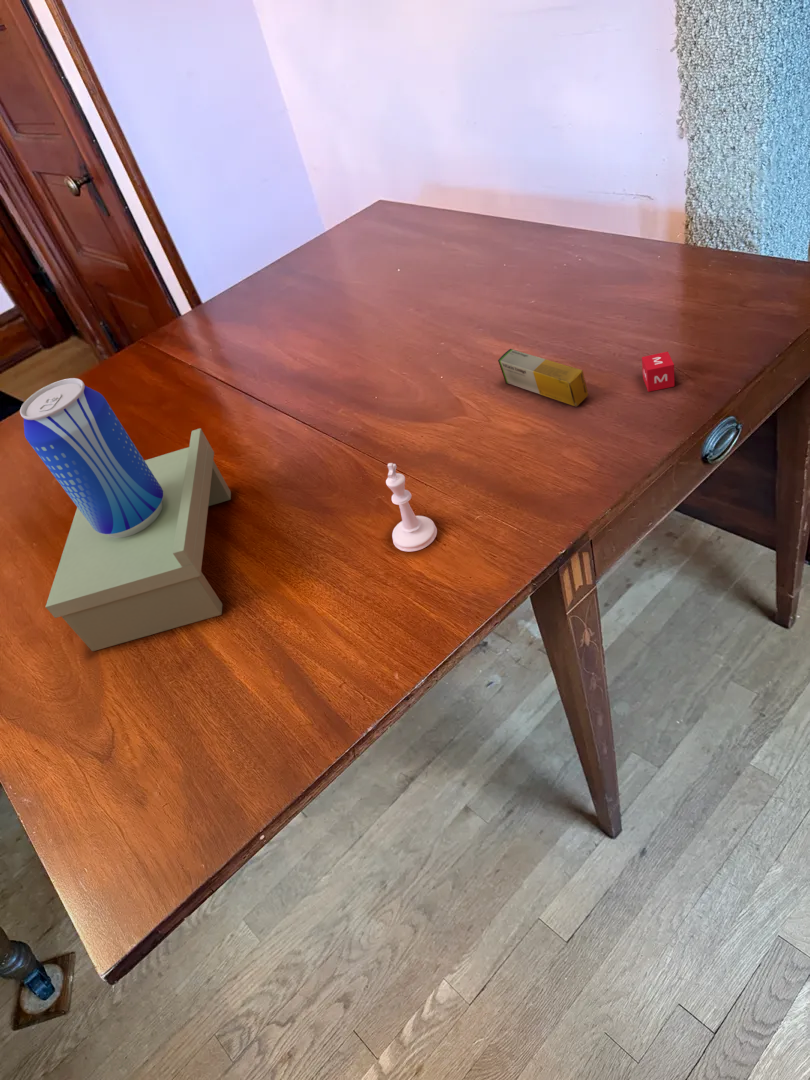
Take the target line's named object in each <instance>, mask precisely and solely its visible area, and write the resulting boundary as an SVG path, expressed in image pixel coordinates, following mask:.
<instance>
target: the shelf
mask: <svg viewBox="0 0 810 1080" xmlns="http://www.w3.org/2000/svg"><path fill="white" fill-rule="evenodd" d="M214 457H215V451H214V450H213V448H212V446H211V444H210V442H209V440H208V439H207V437H206V435H205V433H204V432H203V429H202V428H200V427H199V428H197V429H196V428H195V429H194V430H193V429H192V430H191V434H190V439H189V446H188V447H184V448H180V449H177V450H175V451H171V452H168V453H165V454H161V455H158V456H155V457H152V458H148V459H144V461H145V462H146V464H147V466H148V467H149V469H150V470H151V472H152V473H153V475H154V477H155V478H156V480H157V481H158V483H159V484H160V486H161V488H162V490H163V500H162V504H163V505H162V510H161V512H160V514H159V516H158V517H157V518H156V520H155V521H154V522H153V523H152V524H150V525H149V526H148V527H146V528H145V529H143V530H142V531H140V532H138V533H136V534H134V535H131V536H127V537H122V538H114V537H110V536H108V535H105V534H101V533H98V532H97V531H95V530H94V529H93V527H92V526H91V525H90V523H89V522H88V521H87V519H86V518H85V517H84V515H83V514H82V513H81V511H80V510H79V509H78V507H77V506H76V510H75V512H74V516H73V520H72V523H71V525H70V529H69V532H68V534H67V537H66V541H65V544H64V547H63V551H62V554H61V557H60V560H59V564H58V567H57V569H56V573H55V576H54V579H53V582H52V585H51V588H50V591H49V594H48V598H47V601H46V604H45V609H47V611H48V612H49V613H50V614H51V615H52V616H53V618H54V619H57V618H60V617H61V618H62V619H63V620H64V621H65V623H66V624H67V625H68V626H69V627H70V629H72V630H73V632H74V633H75V634H76V635H77V636H78V637H79V639H81V641H82V642H83V643H84V644H85V645H86V646H87V647H88V648H89V649H90V651H91V652H95V651H99V650H103V649H106V648H109V647H113V646H116V645H120V644H124V643H128V642H131V641H135V640H138V639H141V638H145V637H148V636H151V635H155V634H159V633H162V632H166V631H170V630H172V629H173V630H174V629H176V628H179V627H183V626H187V625H190V624H193V623H197V622H201V621H204V620H208V619H212V618H215V617H219V616H222V614H223V603H222V601H221V600H220V598H219V596H218V595H217V593H216V592H215V590H214V589H213V587H212V586H211V584H210V583H209V581H208V580H207V578H206V576H205V575H204V573H203V572H202V566H203V556H204V549H205V548H204V547H205V541H206V540H205V539H206V530H207V521H208V513H209V507H212V506H215V505H218V504H221V503H224V502H228V501H231V499H232V498H231V497H232V492H231V489H230V488H229V486H228V484H227V482H226V481H225V478H224V477H223V475H222V473H221V471H220V469H219V468H218V466H217V464H216V462H215V460H214V459H215V458H214Z"/></svg>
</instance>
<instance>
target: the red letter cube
mask: <svg viewBox="0 0 810 1080" xmlns="http://www.w3.org/2000/svg"><path fill="white" fill-rule="evenodd" d="M641 367H642V379H643V383H644V384H645V387H646V389H647V392H654V391H660V390H663V389H668V388H673V387H674V388H675V363H674V361H673V359H672V357H671V355H670V353H669V351H663V352H659V353H655V354H649V355H645V356H641Z"/></svg>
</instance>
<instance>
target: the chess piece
mask: <svg viewBox="0 0 810 1080" xmlns="http://www.w3.org/2000/svg"><path fill="white" fill-rule="evenodd" d="M397 467H398V466H397V464H396V463H393V462H388V463H387V469H388V473H387V478H386V480H385V484H386V486H387V487H388V489H390V491H391V492H392V495H391V502H392V504H394V505H397V506H398V507H399V511H400V517H401V521H400V522H398V523H397V524H396V525H395V526H394V528H393V530H392V533H391V538H392V543H393V546H394V547H395V548H396V549H398V550H400V551H402V552H406V553H407V552H411V553H412V552H417V551H421V550H423V549H425V548H426V547H428V546H430V545H431V544H432V543H433V542H434V541H435V539H436V537H437V535H438V529H437V528H438V527H437V526H436V524H435V522H434V521H433V520H432V519H431V518H430V517H427V516H424V515H416V514H415V513H414V510H413V509H412V507H411V505H410V503H409V502H410V501H411V499H412V493H411V492H410V490H408V489H406V476H405V475H404V474H402V473H401V472H400V473H399V472H396V471H397Z"/></svg>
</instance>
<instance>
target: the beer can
mask: <svg viewBox="0 0 810 1080" xmlns="http://www.w3.org/2000/svg"><path fill="white" fill-rule="evenodd" d="M19 415H20V416H21V418H23V433H24V437H25V439H26V441H27V442H28V443H29V446H30V447H32V449H33V450H34V452H35V453H36V454H37V455H38V457H39V458H40V460H41V461H42V462H43V463H44V465H45V466H46V467H47V469H48V470H49V471H50V473H51V474H52V476H53V477H54V478H55V480H56V481H57V482H58V484H59V485H60V486H61V487H62V489H63V490H64V492H65V493H66V494H67V496H68V497H69V498H70V500H71V501H72V502H73V503H74V505H75V506H76V508H77V507H78V509H79V510H80V511H81V513H82V514H83V515H84V517H85V518H86V519H87V521H88V522H89V523H90V525H91V526H92V527H93V529H94V530H95V531H97V532H98V533H101V534H105V535H108V536H110V537H114V538H122V537H127V536H131V535H134V534H136V533H138V532H140V531H142V530H143V529H145V528H146V527H148V526H149V525H150V524H152V523H153V522H154V521H155V520H156V518H157V517H158V516H159V514H160V512H161V510H162V505H163V504H162V500H163V490H162V488H161V486H160V484H159V483H158V481H157V480H156V478H155V477H154V475H153V473H152V472H151V470H150V469H149V467H148V466H147V464H146V462H145V459H144V457H143V456H142V455H141V453H140V451H139V450H138V448H137V447H136V445H135V443H134V442H133V441H132V439H131V437H130V436H129V434H128V432H127V430H126V429H125V428H124V426H123V425H122V423H121V422H120V420H119V418H118V417H117V415H116V414H115V412H114V410H113V409H112V407H111V405H110V404H109V403H108V401H107V399H106V398H105V396H104V395H103V394H102V393H100V392H99V391H97V390H95V389H92V388H91V387H88V386H87V385H85V383H84V381H83V380H82V379H80V378H77V377H70V378H69V377H68V378H64V379H61V380H57V381H55V382H52V383H49V384H47V385H45V386H43V387H42V388H40V389H38V390H36V391H35V392H33V394H31V395H30V396H29V397H28V398H27V399H25V401H24V402H23V403H22V404H21V407H20V409H19Z"/></svg>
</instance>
